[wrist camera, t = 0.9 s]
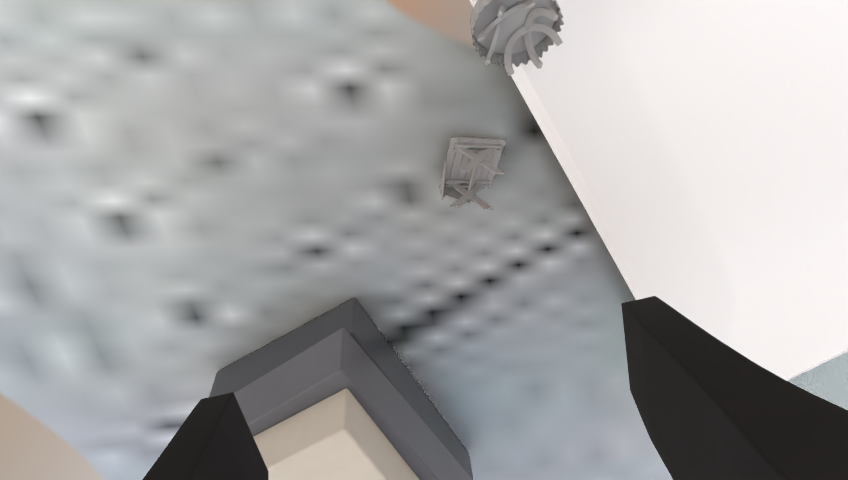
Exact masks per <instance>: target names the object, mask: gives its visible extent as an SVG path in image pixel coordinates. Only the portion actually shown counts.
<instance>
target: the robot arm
mask: <svg viewBox="0 0 848 480" xmlns="http://www.w3.org/2000/svg"><path fill="white" fill-rule="evenodd" d="M622 312H623V322H624V332H625V342H626V352H627V362H628V372H629V381H630V390H631V393H632V395H633V398H634V400H635V403H636V405H637V408H638V410H639V413H640V415H641V418H642V420H643V422H644V425H645V427H646V429H647V432H648V434H649V436H650V439H651V441H652V442H653V444H654V446H655V448H656V450H657V451H658V453H659V455H660V457H661V458H662V460H663V462H664V464H665V466H666V467H667V469H668V471H669V473H670V474H671V476H672V478H673V480H848V411H847V410H845V409H843V408H841V407H839V406H837V405H835V404H832V403H830V402H828V401H826V400H824V399H822V398H820V397H817V396H815V395H813V394H811V393H809V392H807V391H805V390H803V389H801V388H799V387H797V386H795V385H793V384H792V383H790V382H788V381H786V380H784V379H783V378H781V377H779V376H777V375H775V374H774V373H772V372H770V371H768V370H766V369H765V368H763V367H761V366H759V365H758V364H756V363H754V362H753V361H751V360H750V359H748V358H746V357H745V356H743V355H742V354H740V353H739V352H737V351H735V350H734V349H732V348H731V347H729V346H728V345H726V344H724V343H723V342H721V341H720V340H718V339H717V338H715V337H714V336H712V335H711V334H709V333H708V332H706V331H705V330H704V329H702V328H701V327H699V326H698V325H696V324H695V323H693V322H692V321H691V320H689V319H688V318H686V317H685V316H684V315H682V314H681V313H679V312H678V311H676V310H675V309H674V308H672V307H671V306H669V305H668V304H667V303H665V302H664V301H662V300H661V299H659V298H658V297H656V296H652V297H647V298H643V299H639V300H634V301H630V302H625V303H622ZM143 480H268V469H267V467H266V465H265V462H264V460H263V458H262V456H261V453H260V451H259V449H258V447H257V444H256V442H255V440H254V438H253V435H252V433H251V431H250V429H249V426H248V424H247V422H246V420H245V417H244V415H243V413H242V411H241V408H240V406H239V404H238V402H237V399H236V397H235V395H234V393H233V392H231V393H227V394H222V395H218V396H213V397H209V398H205V399H201V400H200V401H199V403H198V404H197V405H196V407H195V408H194V409H193V411H192V412H191V413H190V415H189V416H188V417H187V419H186V420H185V422H184V423H183V425H182V426H181V427H180V429H179V430H178V432H177V433H176V434H175V436H174V437H173V439H172V440H171V441H170V443H169V444H168V446H167V447H166V448H165V450H164V451H163V453H162V454H161V455H160V457H159V458H158V459H157V461H156V462H155V463H154V465H153V466H152V468H151V469H150V470H149V472H148V473H147V474H146V476H145V477H144V478H143Z"/></svg>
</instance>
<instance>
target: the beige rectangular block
mask: <svg viewBox="0 0 848 480" xmlns="http://www.w3.org/2000/svg"><path fill="white" fill-rule="evenodd" d="M253 438H254V440H255V442H256V444H257V447H258V449H259V451H260V453H261V456H262V458H263V460H264V462H265V465H266V467H267V469H268V480H419V478H418V477H417V476H416V475H415V473H414V472H413V471H412V470H411V468H410V467H409V466H408V464H407V463H406V462H405V461H404V459H403V458H402V457H401V456H400V454H399V453H398V452H397V451H396V449H395V448H394V447H393V445H392V444H391V443H390V442H389V440H388V439H387V438H386V437H385V435H384V434H383V433H382V431H381V430H380V429H379V428H378V426H377V425H376V424H375V423H374V421H373V420H372V419H371V418H370V416H369V415H368V414H367V412H366V411H365V410H364V409H363V407H362V406H361V405H360V404H359V402H358V401H357V400H356V399H355V397H354V396H353V395H352V393H351V392H350V391H349V390H348V389H347V388H345V389H343V390H341V391H340V392H338V393H336V394H334V395H332V396H330V397H328V398H326V399H324V400H322V401H320V402H319V403H317V404H315V405H313V406H311V407H309V408H307V409H305V410H303V411H301V412H299V413H297V414H296V415H294V416H292V417H290V418H288V419H286V420H284V421H282V422H280V423H278V424H276V425H275V426H273V427H271V428H269V429H267V430H265V431H263V432H261V433H259V434H257V435H255V436H253Z"/></svg>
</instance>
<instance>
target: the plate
mask: <svg viewBox="0 0 848 480" xmlns="http://www.w3.org/2000/svg"><path fill="white" fill-rule="evenodd" d="M469 1H470V3H471V5H472V7H473V8H474V6H475V4H476V2H477V0H469ZM556 1H557V3H558V5H559V7H560V11H561V13H562V15H563V18H562V20H563V22H564V25H561V26H560V28H561V31H560V32H557V34H558V35H559V36H560V38H561V40H562V42H563V43H562V44H560V45H559V46H557V45H556V44H555V43H554V45H549V46H548V51H547V52H543V53H542V57H541V58H540V57H539V59H540V60H541V62H542V63H543V65H542V68H541V69H538V68H536V66H535V65H534V64H533V62H532V61H531V60H529V61H528V64H527V65H525V64H523V63H520V65H519V67H516V66H515V65H514V64H512V66H513V70H514V74H512V75H511V77H512V78H513V80H514V82H515V84H516V86H517V87H518V89H519V91H520V93H521V94H522V96H523V98H524V100H525V102H526V103H527V105H528V107H529V109H530V111H531V112H532V114H533V116H534V118H535V120H536V121H537V123H538V125H539V127H540V129H541V130H542V132H543V134H544V136H545V138H546V139H547V141H548V143H549V145H550V147H551V148H552V150H553V152H554V154H555V156H556V157H557V159H558V161H559V163H560V164H561V166H562V168H563V170H564V172H565V173H566V175H567V177H568V179H569V181H570V182H571V184H572V186H573V188H574V190H575V191H576V193H577V195H578V197H579V199H580V200H581V202H582V204H583V206H584V208H585V209H586V211H587V213H588V215H589V217H590V218H591V220H592V222H593V224H594V226H595V227H596V229H597V231H598V233H599V235H600V236H601V238H602V240H603V242H604V243H605V245H606V247H607V249H608V251H609V252H610V254H611V256H612V258H613V260H614V261H615V263H616V265H617V267H618V269H619V270H620V272H621V274H622V276H623V278H624V279H625V281H626V283H627V285H628V287H629V288H630V290H631V292H632V294H633V296H634V297H635V299H636V300H639V299H643V298H647V297H652V296H656V297H658V298H659V299H661V300H662V301H664V302H665V303H667V304H668V305H669V306H671V307H672V308H674V309H675V310H676V311H678V312H679V313H681V314H682V315H684V316H685V317H686V318H688V319H689V320H691V321H692V322H693V323H695V324H696V325H698V326H699V327H701V328H702V329H704V330H705V331H706V332H708V333H709V334H711V335H712V336H714V337H715V338H717V339H718V340H720V341H721V342H723V343H724V344H726V345H728V346H729V347H731V348H732V349H734V350H735V351H737V352H739V353H740V354H742V355H743V356H745V357H746V358H748V359H750V360H751V361H753V362H754V363H756V364H758V365H759V366H761V367H763V368H765V369H766V370H768V371H770V372H772V373H774V374H775V375H777V376H779V377H781V378H783V379H784V380H786V381H788V380H790V379H792V378H794V377H796V376H798V375H800V374H802V373H804V372H806V371H808V370H811V369H813V368H815V367H817V366H819V365H821V364H823V363H825V362H827V361H829V360H831V359H833V358H835V357H837V356H839V355H841V354H843V353H845V352H847V351H848V0H556Z"/></svg>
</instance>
